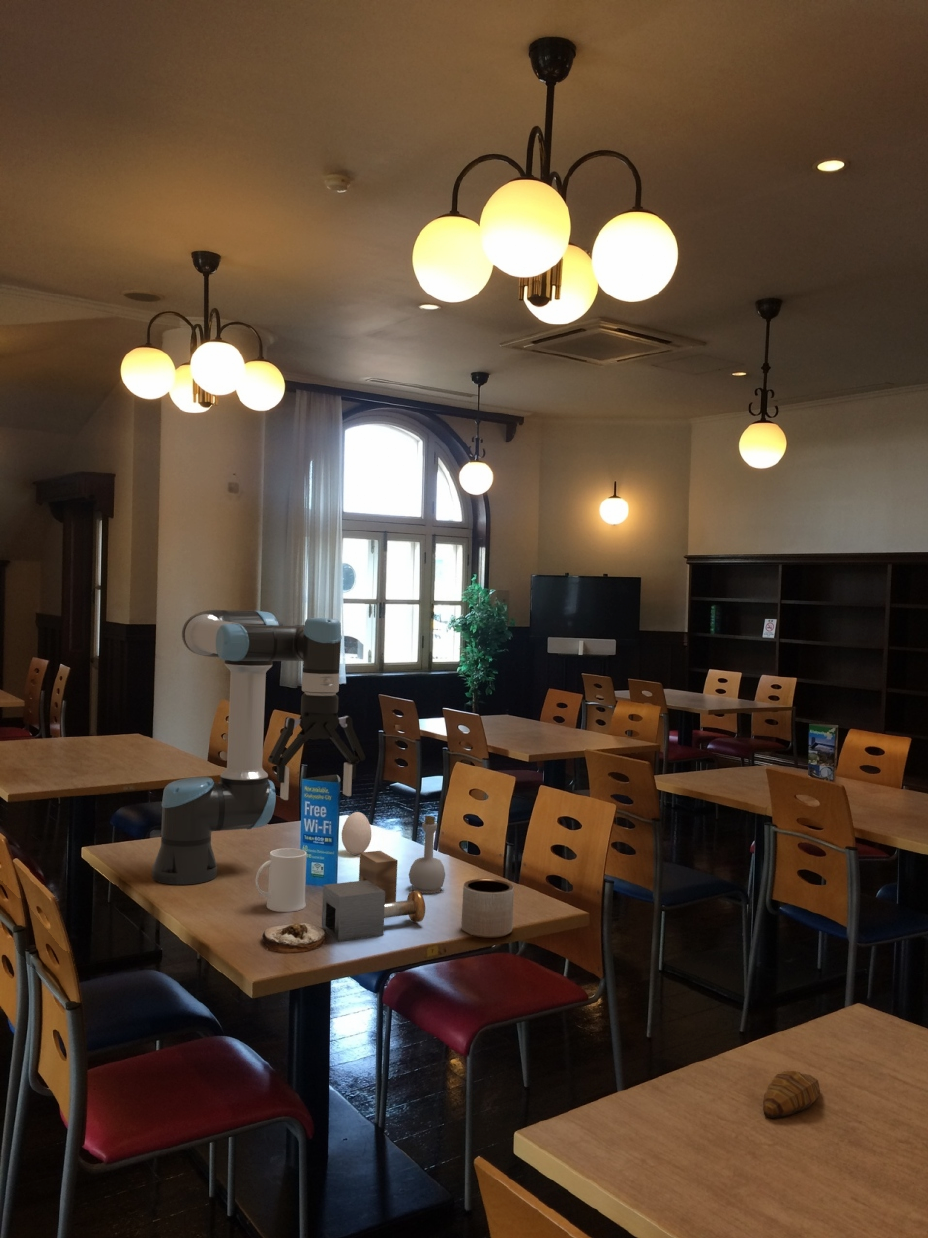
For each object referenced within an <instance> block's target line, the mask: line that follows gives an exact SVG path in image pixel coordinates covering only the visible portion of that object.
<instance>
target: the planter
mask: <svg viewBox="0 0 928 1238" xmlns="http://www.w3.org/2000/svg"><path fill="white" fill-rule="evenodd" d="M514 889H515V887H514V885H513V884H512V883H511V882H508V881H504V880H501V879H496V878H495V879H494V878H475V879H471V880H467V881H465V882H464V883H463V886H462V903H461V904H462V908H461V921H460V922H461V925H460V926H461V929H462V930H463V932H465V933H466V932H467V934H468V933H469V934H468V935H470V934H471V935H470V936H472V935H473V937H478V938H483V939H495V938H496V939H497V938H503V937H505V936H507V935H509V934H510V933H512V931H513V929H514V928H513V925H514V896H515V894H514V892H515V890H514Z"/></svg>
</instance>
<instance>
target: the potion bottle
mask: <svg viewBox="0 0 928 1238" xmlns="http://www.w3.org/2000/svg"><path fill="white" fill-rule="evenodd" d="M421 825H422V827H421V829H422V831H423V832H424V850H423V856H422V857H418V858H417V859H415V860H414V861H413V863H412V864H411V866H410V869H409V872H408V878H409V883H410V885H412V886H413V887H412V890H413V891H419V892H420V893H421V894H436V892H437V893H440V892H441V891H442V887H443V886H444V883H445V879H446V871H445V866H444V864H443V862H442V860H441V859H438V858H435V857H434V843H435V842H434V840H435V832H436V831H437V829H438V823H437V822H436V817H435V816H432V815H424V822H422V823H421ZM440 890H441V891H440ZM439 891H440V892H439Z"/></svg>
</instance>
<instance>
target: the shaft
mask: <svg viewBox="0 0 928 1238" xmlns="http://www.w3.org/2000/svg"><path fill="white" fill-rule="evenodd" d="M422 894H423V893H420V892H419V891H414V890H413V891H410V892H409V893H408V895H407V898H406V900H400V901H399V900H398V901H396V902H390V903H385V910H384V919H387V918H395V917H397V918H398V917H404V916H408V918H409V919H410V920H411V922H412V923H421V922H422V921H423V920H424V919H425V916H426V902H425V899H424V895H422Z"/></svg>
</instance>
